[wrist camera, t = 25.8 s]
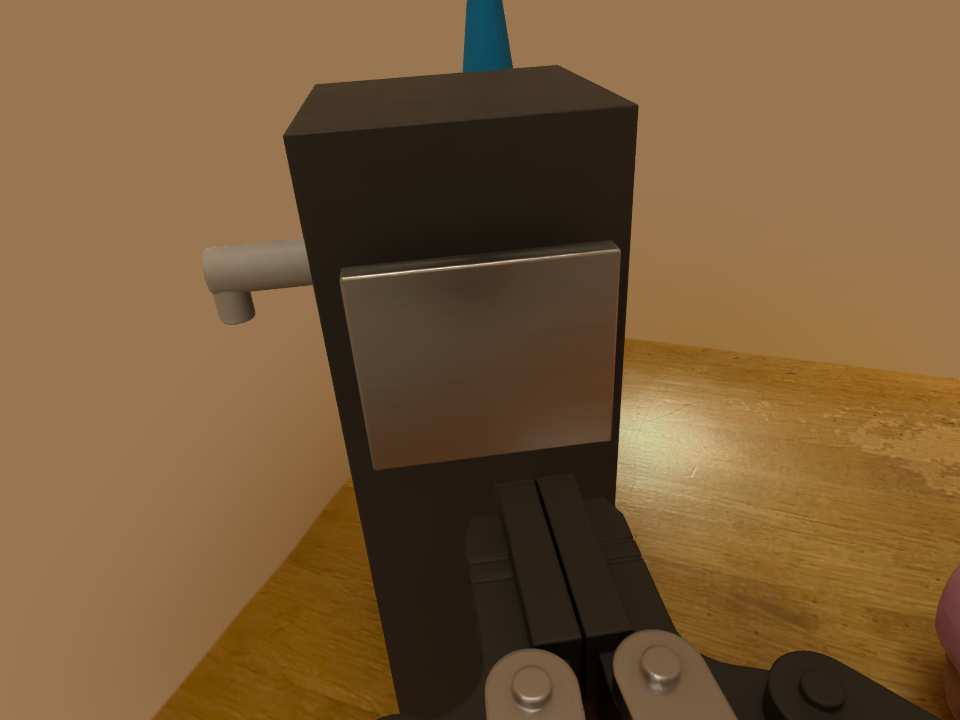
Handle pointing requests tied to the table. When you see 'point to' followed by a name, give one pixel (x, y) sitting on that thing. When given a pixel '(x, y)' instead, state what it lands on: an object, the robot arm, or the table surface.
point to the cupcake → (951, 639)
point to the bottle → (486, 37)
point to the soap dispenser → (433, 234)
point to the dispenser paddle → (484, 351)
